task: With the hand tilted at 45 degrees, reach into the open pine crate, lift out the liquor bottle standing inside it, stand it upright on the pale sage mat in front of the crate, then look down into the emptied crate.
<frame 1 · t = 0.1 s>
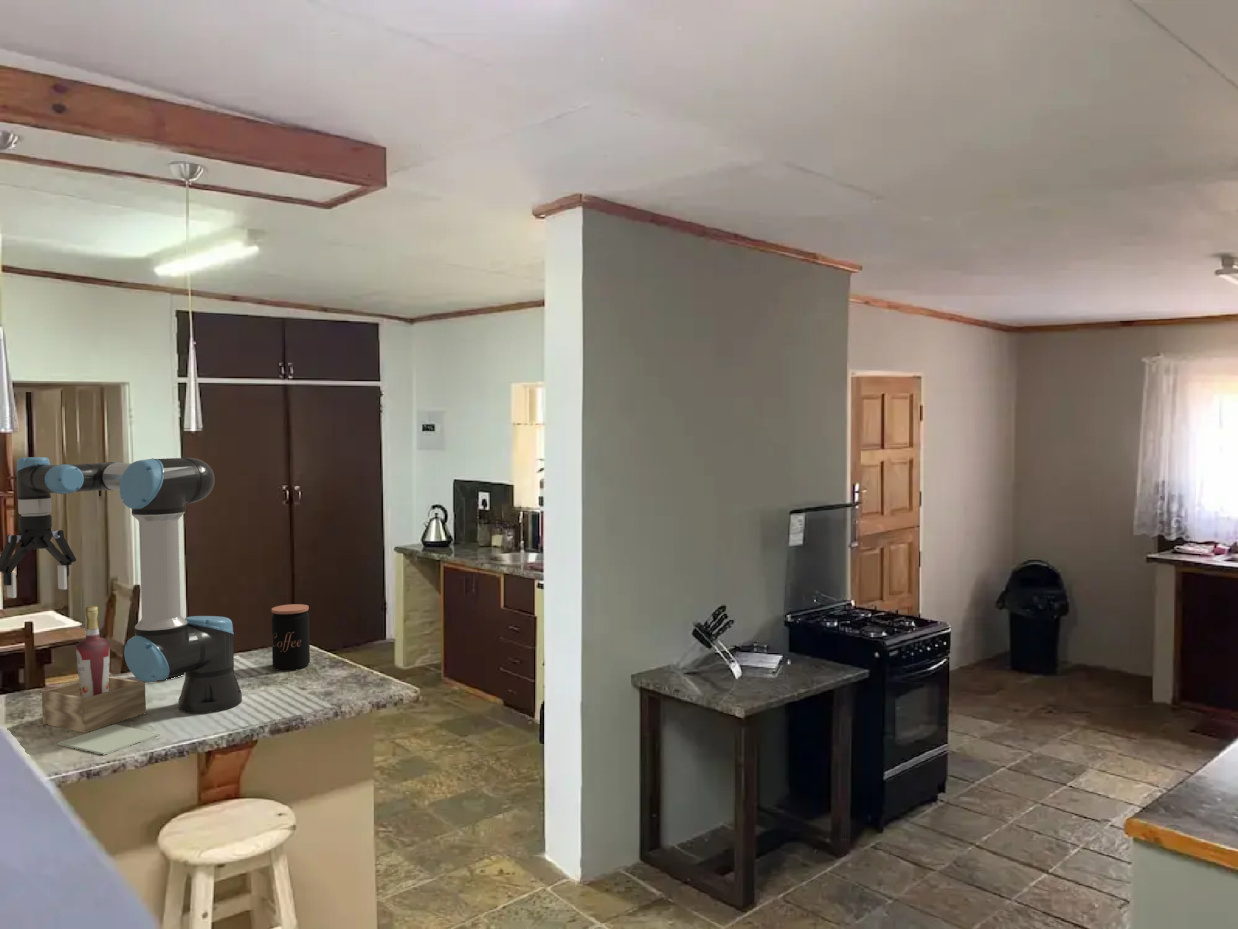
hand: (37, 593, 245), 28 cm above the countertop, tool pointing down, fingers open, 13 cm apart
coffee jar: (291, 667, 275), on the countertop
french press: (167, 677, 265), on the countertop
liquor: (95, 719, 227), resting in crate
mat: (109, 740, 211), on the countertop
crate: (95, 718, 227), on the countertop
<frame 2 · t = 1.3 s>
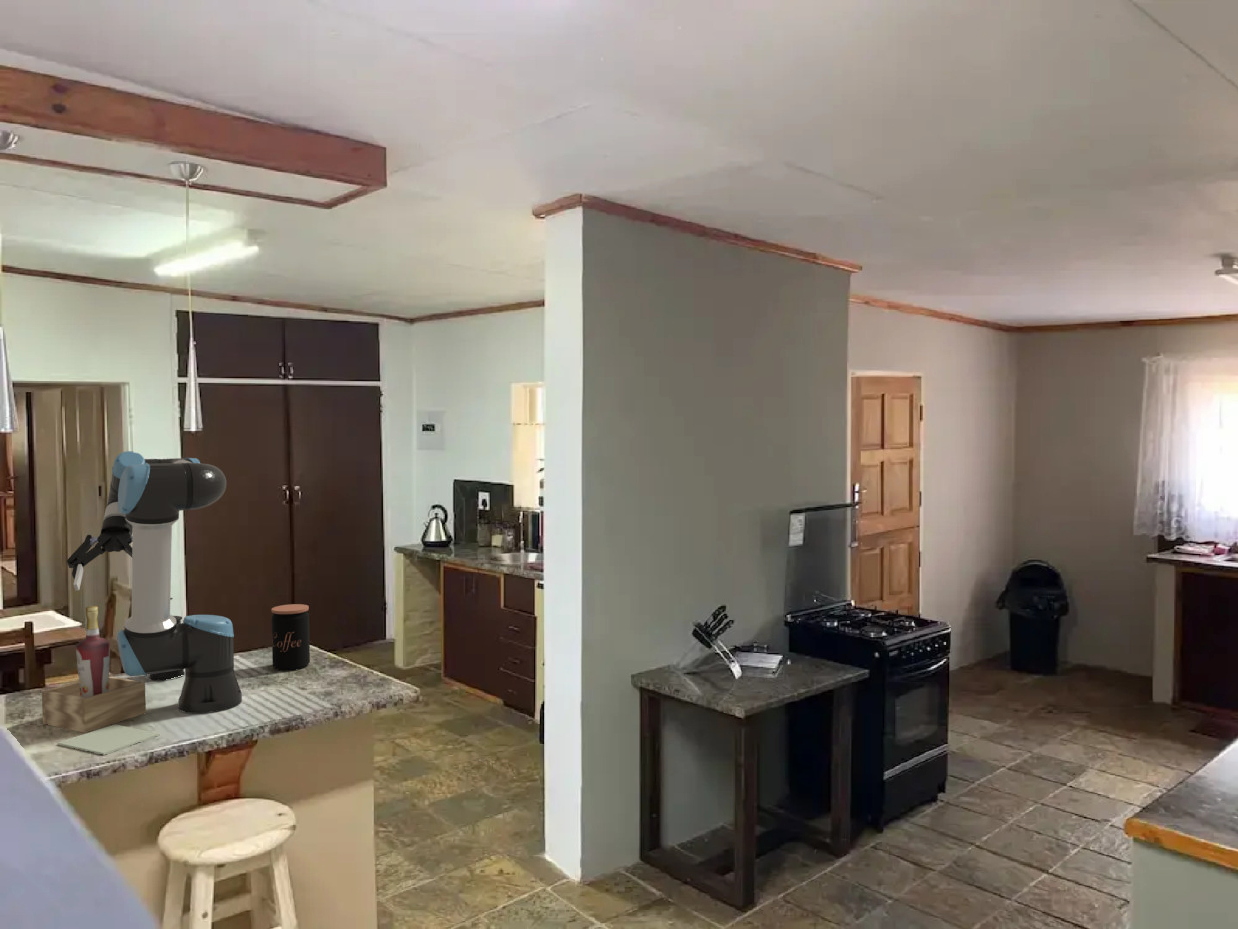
hand: (105, 586, 237), 31 cm above the countertop, tool tilted 45°, fingers open, 13 cm apart
nothing on the countertop moved.
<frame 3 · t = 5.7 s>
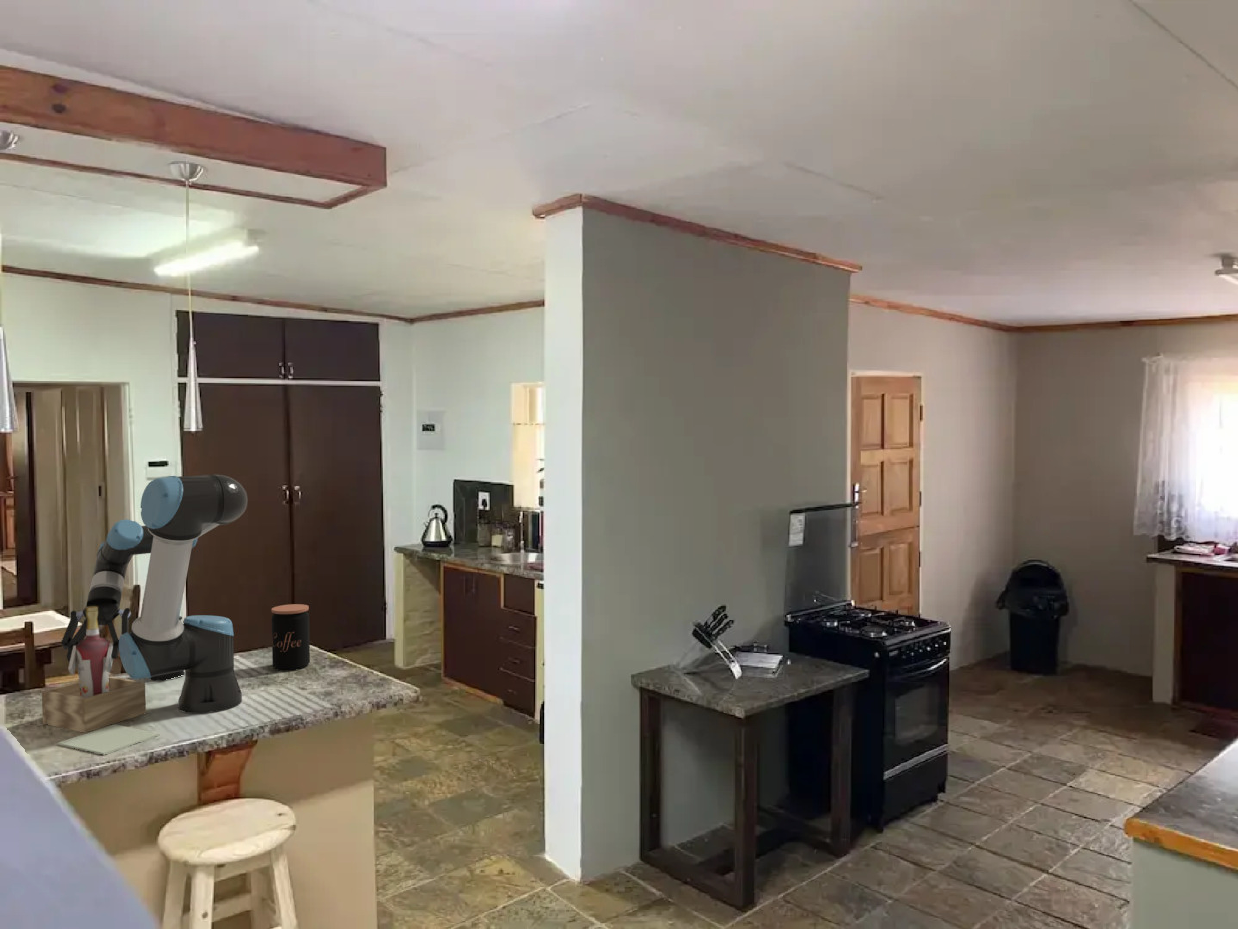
hand: (89, 670, 223), 13 cm above the countertop, tool tilted 45°, fingers closed on liquor, 7 cm apart
liquor: (95, 719, 227), resting in crate, touching gripper
everything else where it was.
when the fingers open (15 cm above the countertop, at t = 12.2 s): liquor drops 1 cm, resting on mat.
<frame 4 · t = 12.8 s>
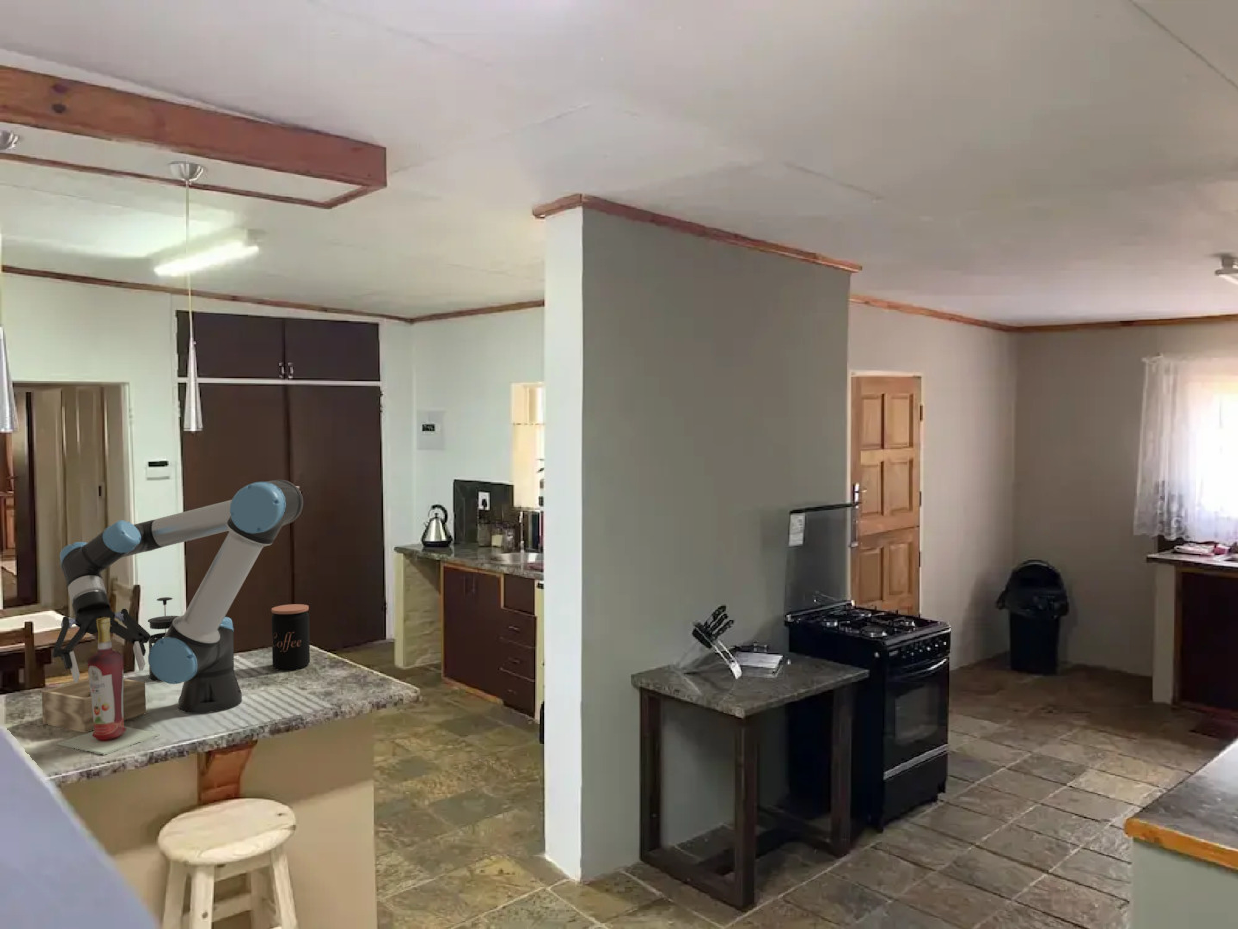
hand: (110, 673, 209), 16 cm above the countertop, tool tilted 45°, fingers open, 13 cm apart
liquor: (109, 738, 211), resting on mat
everything else where it was.
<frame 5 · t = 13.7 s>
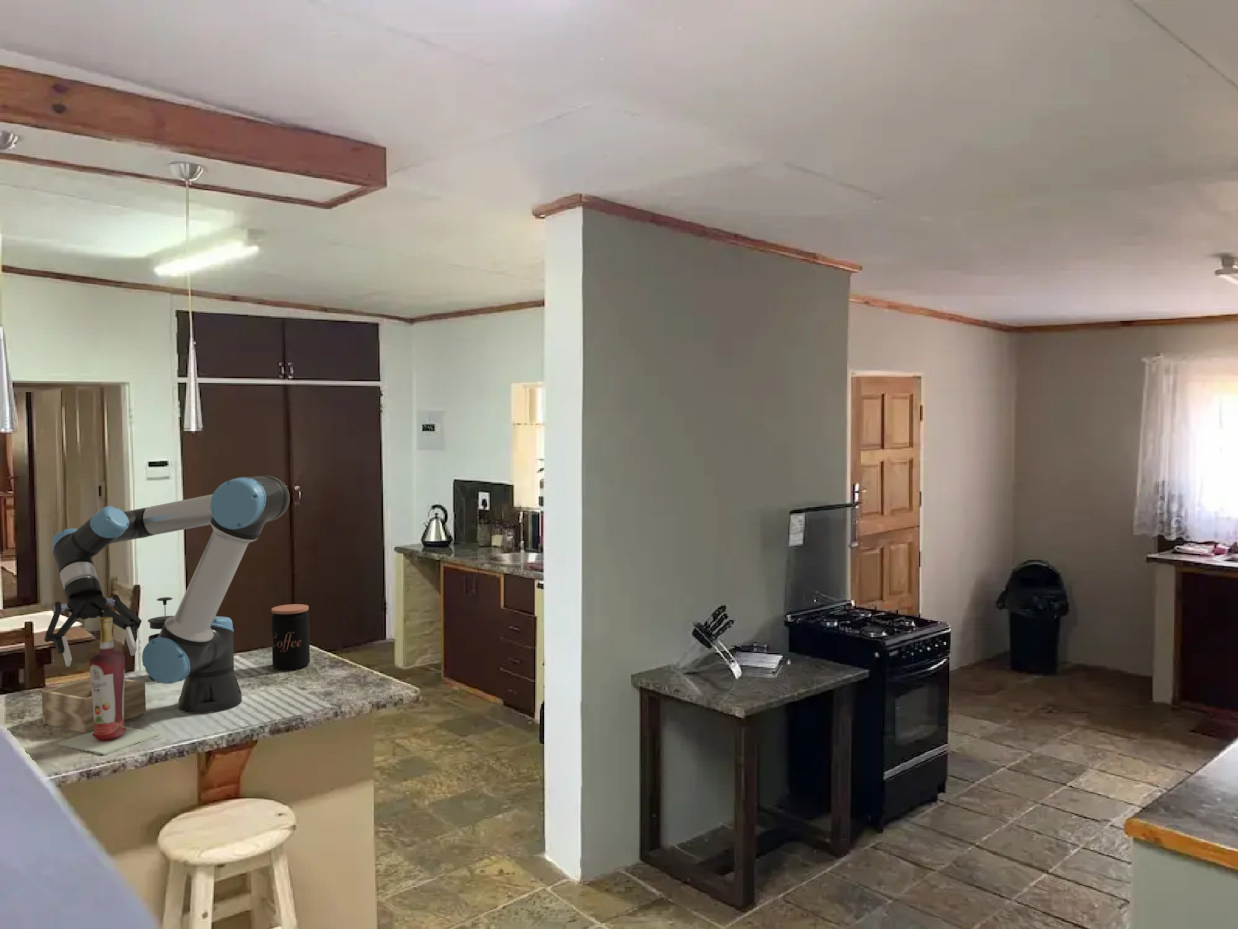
hand: (102, 657, 212), 19 cm above the countertop, tool tilted 45°, fingers open, 13 cm apart
nothing on the countertop moved.
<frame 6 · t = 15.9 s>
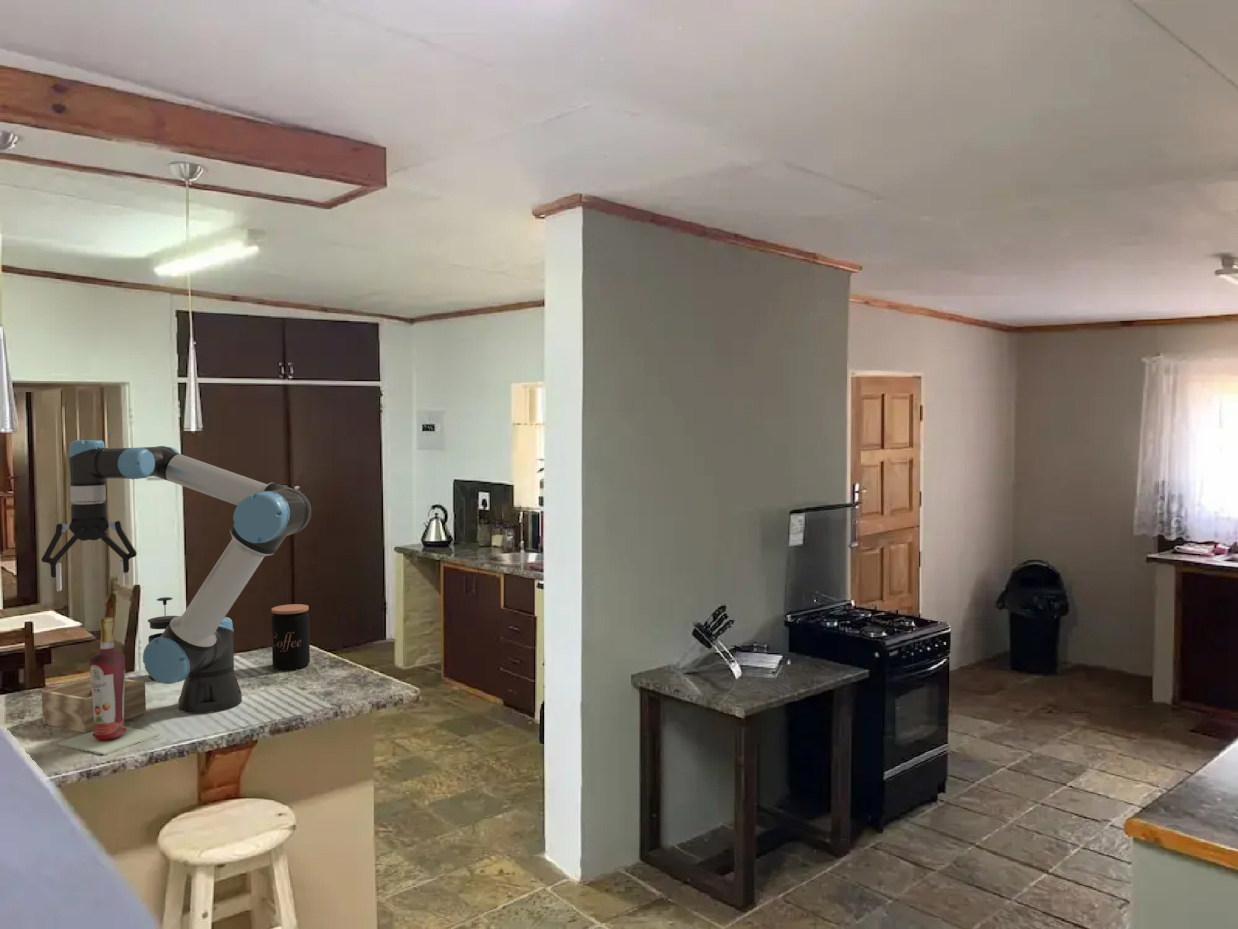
hand: (91, 588, 226), 33 cm above the countertop, tool pointing down, fingers open, 13 cm apart
nothing on the countertop moved.
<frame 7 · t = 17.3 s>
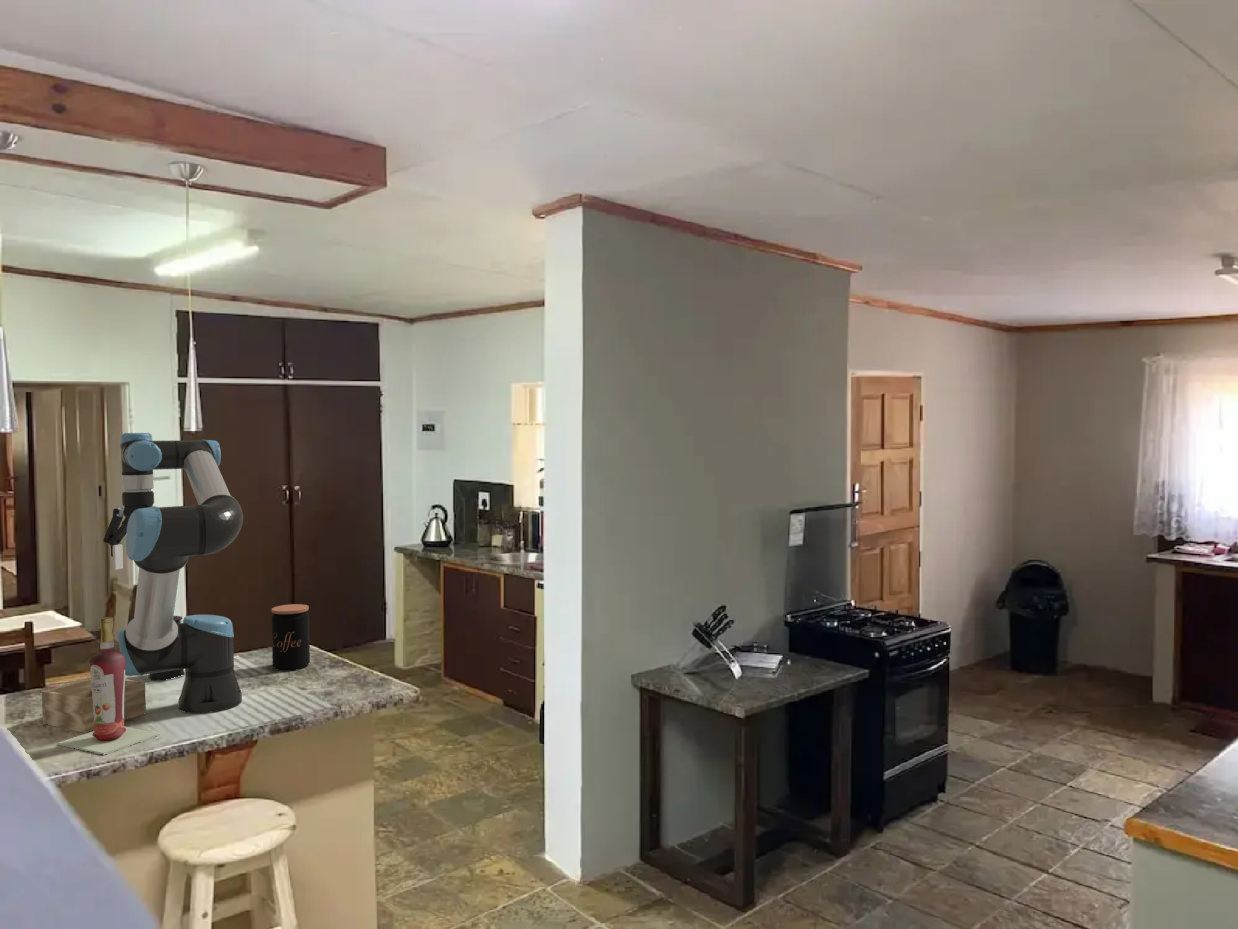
hand: (140, 570, 244), 34 cm above the countertop, tool pointing down, fingers open, 13 cm apart
nothing on the countertop moved.
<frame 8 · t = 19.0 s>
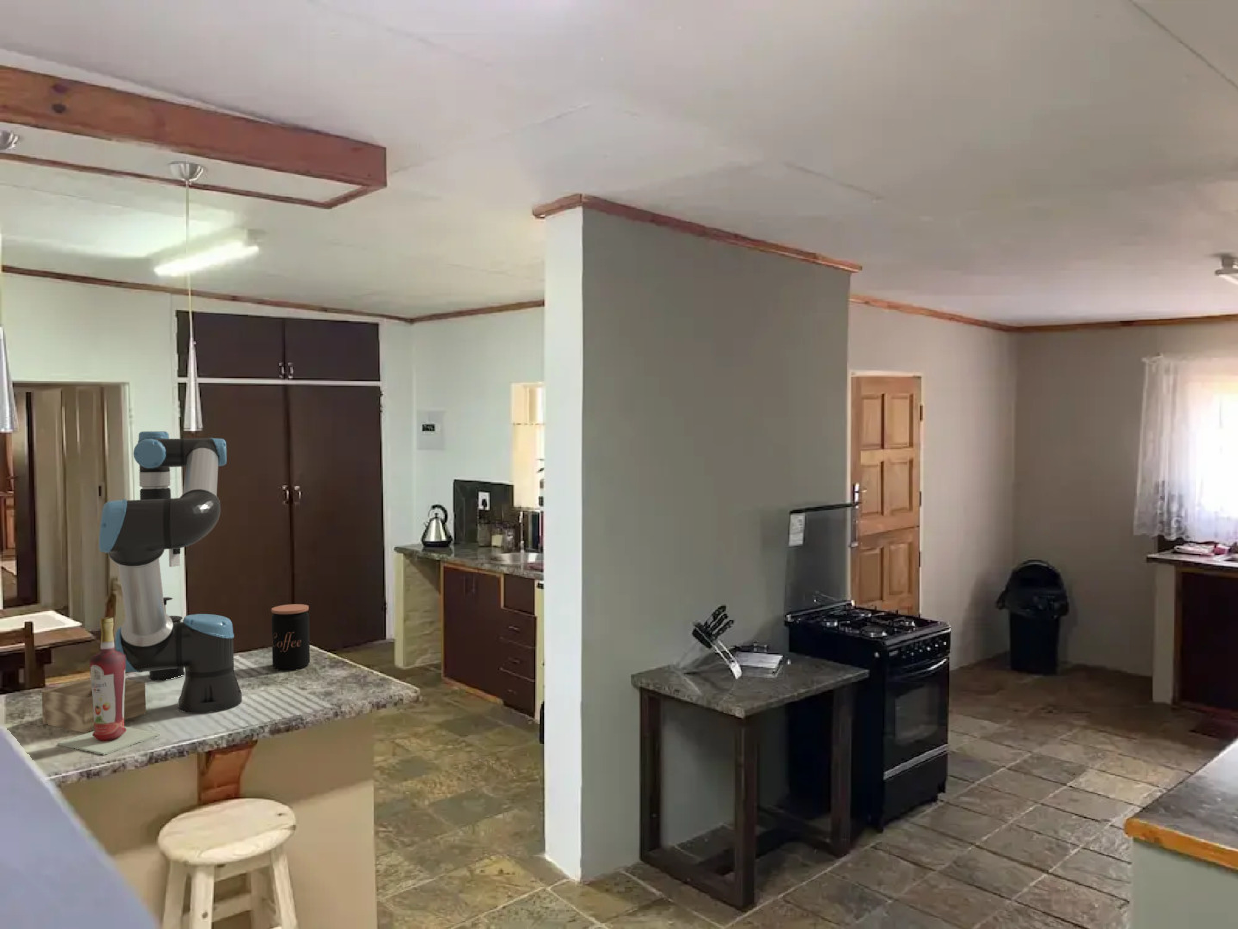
hand: (157, 564, 250), 35 cm above the countertop, tool pointing down, fingers open, 13 cm apart
nothing on the countertop moved.
at the end: liquor inside the target area on the mat (0.1 cm from its centre), point 0.3 cm above the mat's base; liquor tilted 0°; the gripper is holding nothing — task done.
